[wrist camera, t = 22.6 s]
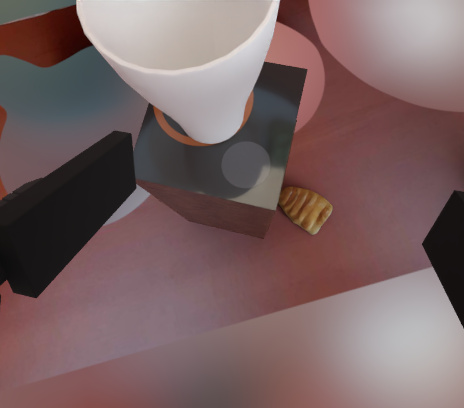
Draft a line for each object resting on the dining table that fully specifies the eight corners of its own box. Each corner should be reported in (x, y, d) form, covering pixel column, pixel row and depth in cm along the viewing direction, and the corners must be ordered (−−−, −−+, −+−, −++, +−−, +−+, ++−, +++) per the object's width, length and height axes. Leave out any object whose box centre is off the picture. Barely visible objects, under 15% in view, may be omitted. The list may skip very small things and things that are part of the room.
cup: (142, 154, 28) (44, 53, 15) (174, 55, 30) (112, -112, 17) (253, 179, 27) (254, 95, 14) (279, 75, 29) (302, -89, 15)
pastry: (269, 209, 55) (270, 204, 51) (289, 179, 56) (292, 172, 52) (314, 238, 53) (319, 235, 49) (334, 206, 54) (340, 202, 50)
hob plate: (307, 70, 29) (307, 68, 29) (275, 211, 26) (276, 210, 26) (168, 46, 30) (167, 43, 30) (126, 176, 28) (124, 175, 28)
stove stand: (282, 165, 56) (310, 70, 29) (265, 239, 54) (279, 211, 26) (208, 150, 58) (168, 46, 30) (188, 220, 55) (126, 176, 28)
